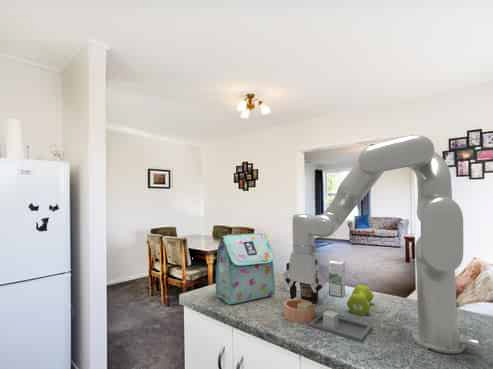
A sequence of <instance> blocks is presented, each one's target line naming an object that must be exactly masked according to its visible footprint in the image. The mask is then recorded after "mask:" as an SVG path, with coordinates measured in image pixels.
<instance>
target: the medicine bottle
mask: <svg viewBox="0 0 493 369" xmlns="http://www.w3.org/2000/svg"><path fill="white" fill-rule="evenodd" d="M285 268H286V270H285V272H286V271H287V270H288V269H289V262H287V263H286V265H285ZM288 276H289V274H288ZM283 280H284V283H283V284H284V285H283V286H284V289H285V291H286V292H290V287H289V286H288V283H287V282H286V280H285V278H284V277H283ZM295 286H296V292H300V282H296V284H295Z"/></svg>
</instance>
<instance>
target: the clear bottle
mask: <svg viewBox="0 0 493 369" xmlns="http://www.w3.org/2000/svg"><path fill="white" fill-rule="evenodd" d="M345 262H346V261H344V260H335V259H331V260H330V261H328V288H329V289H328V294H329V296H331V297H337V298H343V297H344V296H346V266H345V265H346V263H345Z"/></svg>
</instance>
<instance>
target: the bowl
mask: <svg viewBox="0 0 493 369" xmlns="http://www.w3.org/2000/svg"><path fill="white" fill-rule="evenodd" d="M301 302H307V303H311V304H312V302H310V301H307V300H302V299H301V298H300V299H299V298H298V299H297V298H293V299H288V300H286V301H284V302H283V306H284V307H283V308H284V309H283V313H284V314H283V316H284V318H285V319H286V320H288V321H290V322H292V323H293V322H294V323H298V324H299V323H300V324H301V323H303V324H305V323H306V324H307V323H310V322H311V321H313V320H314V319H315V318H316V304H315V305H314V304H312V307H311V308H309V309H304V310H303V309H298V307H297V305H298V304H299V303H301Z"/></svg>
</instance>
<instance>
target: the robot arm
mask: <svg viewBox="0 0 493 369" xmlns="http://www.w3.org/2000/svg"><path fill="white" fill-rule="evenodd" d="M404 168H409V169H411V170H412V171H413V172H414V173H415V176H416V182H417V206H416V216H417V219H418V221H419V222H420V236H419V237H418V238H417V240H416V242H415V245H414V256H415V258H414V259H415V268H416V269H415V271H416V295H417V296H416V297H417V302H416V303H417V327H418V328H417V329H415V330H413V331H412V338H413V340H414V341H415V342H416V343H417V344H419V345H421V346H423V347H425V348H427V349H428V350H430V351H435V352H438V353H441V354H450V355H454V354H461V353H463V352H465V349H466V347H465V346H469V347H471V348H476V349H479V340H478V339H474V338H473V336H471V335H465V334H462V333H461V332H460V327H458V317H457V316H458V315H457V314H458V313H457V310H458V309H457V281H456V272H455V271H456V270H457V269H458V268H459V267H460V266H461V264H462V263H463V259H464V216H463V212H462V208H461V207H460V205H459V204H458V202H456V201H455V200H454V199H453V188H452V175H451V172H450V168H449V165H448V163H447V162H446V161H445V159H444V158H443V157H442V155H440V154H439V153H438V152H436V151H435V145H434V143H433V141H432V140H431V139H430V138H428V137H427V136H424V135H421V134H420V135H418V134H417V135H416V134H415V135H410V136H405V137H402V138H401V137H400V138H397V139H393V140H388V141H384V142H380V143H376V144H372V145H369V146H367V147H365V148H364V149H363V150H362V151H361V152H360V154H359V156H358V160H357V161H356V163H355V164H354V165H353V167H352V169H351V170H350V171H349V172H348V174H347V175H346V176H345V177H344V178H343V180H341V183H339V186H338V188H337V191H336V194H335V195H334V198H333V199H332V201H331V202H330V203H329V205H328V206H327V207H326V209H325V210H324V212H323V213H322V214H317V215H312V214H309V213H298V214H297V213H296V214H294V215H293V216H292V252H290V256H289V262H288V263H289V269H288V270H287V271H286V270H285V271H284V272H283V273H282V277H283V279H284V278H285V280H286V282H287V283H288V286H289V287H290V291H289V296H290V300H292V299H296V298H297V291H296V286H295V284H296V282H300V283H305V284H310V286H311V288H312V290H313V292H312V304H315V303H317V302H319V291H320V290H321V289H322V288H324V286H326V284H327V282H328V281H327V280H326V279H325V278H324V277H323V276H322V274H320V273H321V272H320V264H319V258H318V257H319V256H318V253H316V252H318V251H319V247H316V244H315V237H321V238H327V237H330V236H332V235H333V234H334V233H335V232H337V231H338V230H339V229H340V227H342V226H341V225H342V224H343V223H344V222H345V220H347V219H348V217H349V216H350V214H351V213H352V212H353V211H354V209H355V208H356V207H357V206H358V205H359V204H360V203H361V202H362V200H363V199H364V197H366V195H367V194H368V193H369V191H370V190H371V189H372V188H373V187H374V185H375V184H376V183H377V181H378V180H379V179H380V178H381V177H382V175H383V174H384V173H385V172H388V171H393V170H399V169H404ZM288 274H289V276H288ZM318 281H319V282H320V283H319V285H318V284H317V282H318ZM317 304H318V303H317ZM315 305H316V304H315Z"/></svg>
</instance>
